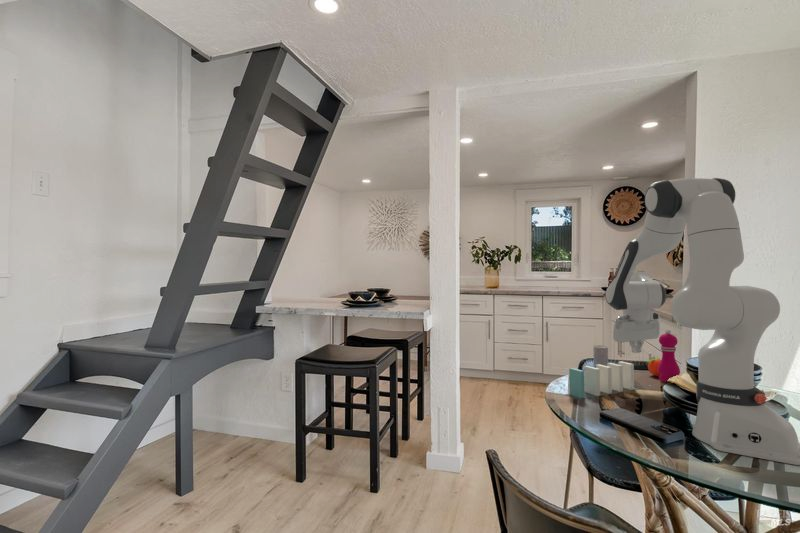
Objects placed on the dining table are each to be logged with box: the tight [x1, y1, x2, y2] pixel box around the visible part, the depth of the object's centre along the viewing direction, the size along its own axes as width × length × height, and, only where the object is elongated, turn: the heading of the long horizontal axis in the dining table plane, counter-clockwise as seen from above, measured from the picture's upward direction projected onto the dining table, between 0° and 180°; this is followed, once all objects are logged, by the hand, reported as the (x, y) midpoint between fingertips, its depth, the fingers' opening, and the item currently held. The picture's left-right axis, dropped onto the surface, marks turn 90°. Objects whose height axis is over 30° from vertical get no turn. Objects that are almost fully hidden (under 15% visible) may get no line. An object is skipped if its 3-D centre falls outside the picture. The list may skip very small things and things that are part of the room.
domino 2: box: [584, 365, 600, 397], centre depth 144 cm, size 2×5×9 cm, turn 22°
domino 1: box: [568, 367, 585, 398], centre depth 141 cm, size 2×5×9 cm, turn 22°
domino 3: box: [596, 364, 612, 395], centre depth 146 cm, size 2×5×9 cm, turn 23°
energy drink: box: [593, 345, 609, 368], centre depth 169 cm, size 5×5×12 cm
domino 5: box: [617, 360, 635, 391], centre depth 150 cm, size 2×5×9 cm, turn 22°
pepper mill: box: [658, 329, 681, 383], centre depth 159 cm, size 7×7×20 cm
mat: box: [565, 387, 638, 401], centre depth 146 cm, size 29×6×1 cm, turn 113°
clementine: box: [645, 358, 661, 377], centre depth 168 cm, size 8×7×7 cm
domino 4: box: [607, 362, 623, 393], centre depth 148 cm, size 2×5×9 cm, turn 23°
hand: (636, 352), depth 153 cm, fingers closed
